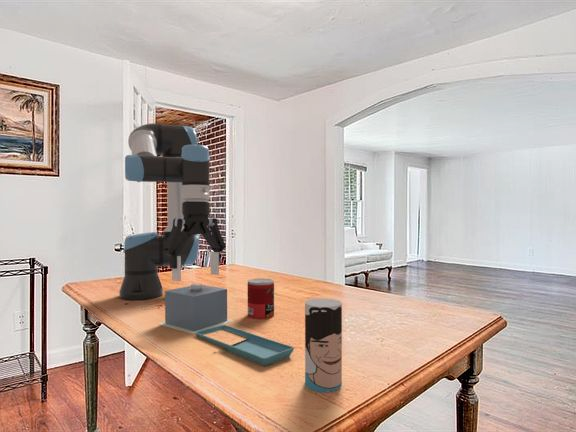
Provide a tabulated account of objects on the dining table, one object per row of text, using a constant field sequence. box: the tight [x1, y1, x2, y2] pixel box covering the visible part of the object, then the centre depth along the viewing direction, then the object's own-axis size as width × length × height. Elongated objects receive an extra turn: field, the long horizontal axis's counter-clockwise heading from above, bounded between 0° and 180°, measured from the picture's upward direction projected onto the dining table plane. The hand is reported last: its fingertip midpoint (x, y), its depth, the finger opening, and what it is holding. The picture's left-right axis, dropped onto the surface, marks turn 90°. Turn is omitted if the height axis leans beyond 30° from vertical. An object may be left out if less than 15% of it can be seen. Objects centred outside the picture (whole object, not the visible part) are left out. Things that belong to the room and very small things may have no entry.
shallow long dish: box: [194, 324, 295, 367], centre depth 91 cm, size 26×9×2 cm, turn 45°
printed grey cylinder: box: [304, 297, 343, 393], centre depth 72 cm, size 7×7×15 cm
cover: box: [164, 283, 228, 331], centre depth 109 cm, size 12×12×10 cm
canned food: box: [247, 277, 275, 320], centre depth 116 cm, size 8×8×11 cm
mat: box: [157, 318, 236, 335], centre depth 109 cm, size 15×15×1 cm
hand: (196, 277), depth 109 cm, fingers open, 13 cm apart
